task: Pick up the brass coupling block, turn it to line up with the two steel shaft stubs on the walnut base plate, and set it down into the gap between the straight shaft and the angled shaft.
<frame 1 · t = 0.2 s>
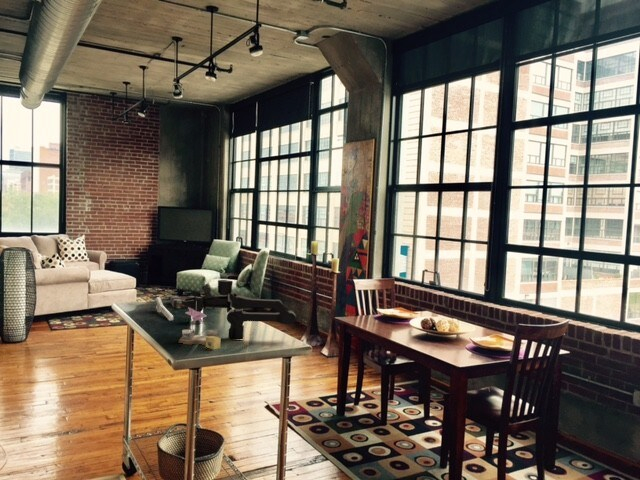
hand: (183, 301, 251), 17 cm above the table, tool horizontal, fingers open, 9 cm apart
coupler: (212, 348, 234), on the table
book: (184, 307, 327), on the table
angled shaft: (187, 341, 243), resting on base plate
base plate: (199, 341, 244), on the table
lily: (194, 323, 282), on the table
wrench: (163, 316, 297), on the table
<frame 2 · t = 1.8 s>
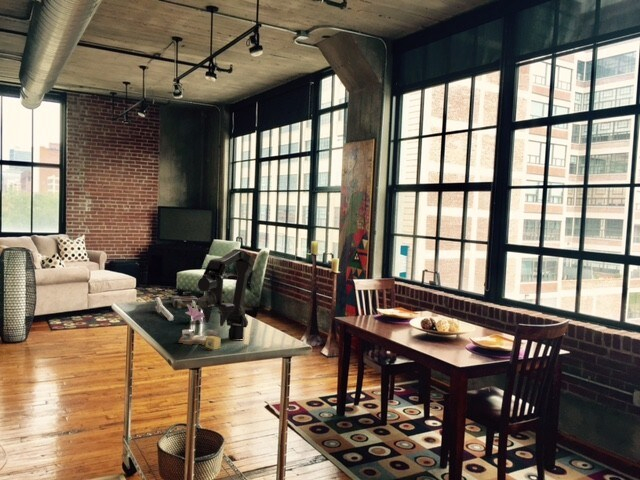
hand: (214, 324, 234), 11 cm above the table, tool pointing down, fingers open, 9 cm apart
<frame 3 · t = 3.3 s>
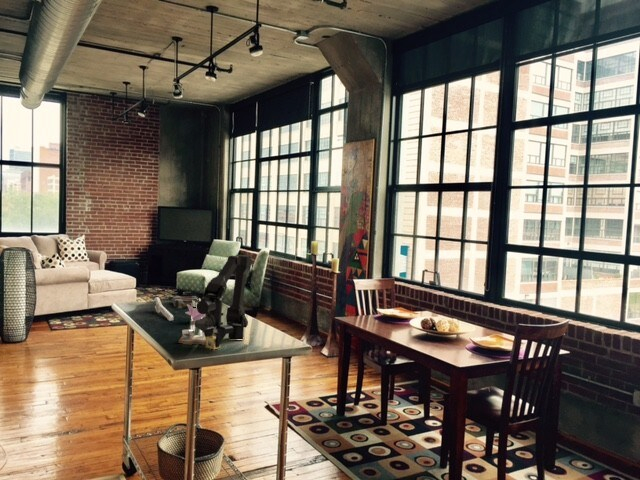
hand: (213, 346, 234), 1 cm above the table, tool pointing down, fingers closed on coupler, 5 cm apart
coupler: (212, 348, 234), on the table, touching gripper
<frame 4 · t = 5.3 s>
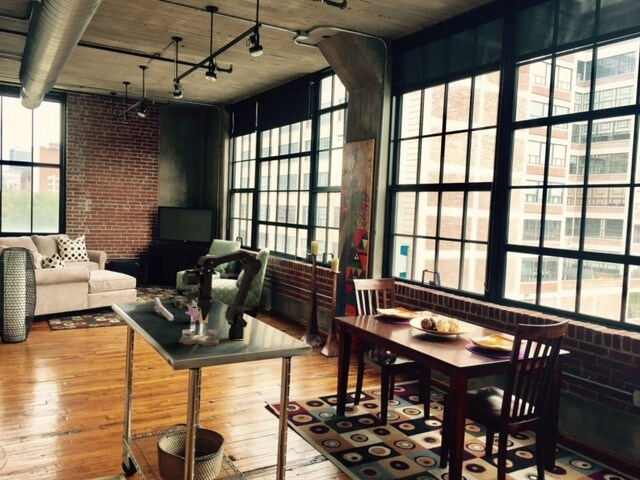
hand: (203, 319, 242), 11 cm above the table, tool pointing down, fingers closed on coupler, 5 cm apart
coupler: (203, 321, 242), point 10 cm above the table, touching gripper
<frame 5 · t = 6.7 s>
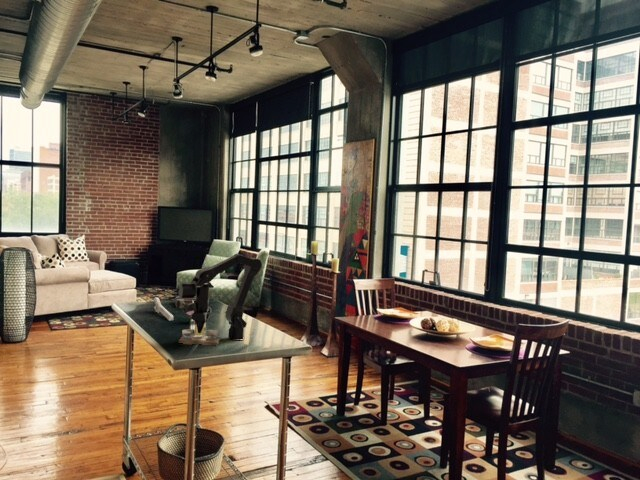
hand: (200, 331, 244), 5 cm above the table, tool pointing down, fingers closed on coupler, 5 cm apart
coupler: (200, 333, 244), point 4 cm above the table, touching gripper
when the fingers open (4 cm above the table, at t = 7.5 s): coupler drops 1 cm, resting on base plate.
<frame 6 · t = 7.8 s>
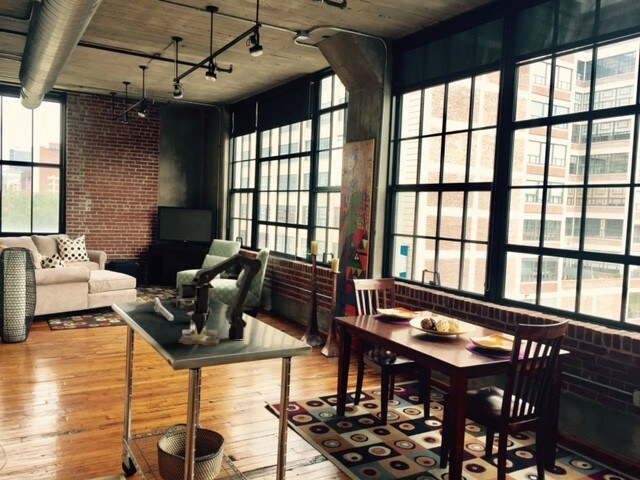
hand: (200, 332, 244), 4 cm above the table, tool pointing down, fingers open, 8 cm apart
coupler: (200, 337, 244), point 2 cm above the table, touching base plate
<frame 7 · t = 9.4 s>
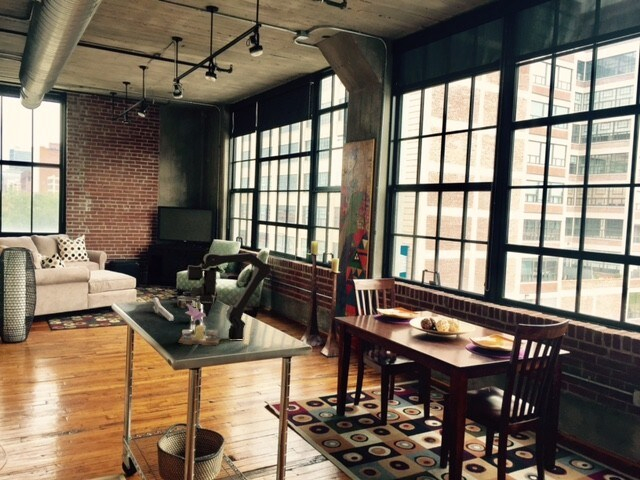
hand: (208, 314, 249), 12 cm above the table, tool pointing down, fingers open, 9 cm apart
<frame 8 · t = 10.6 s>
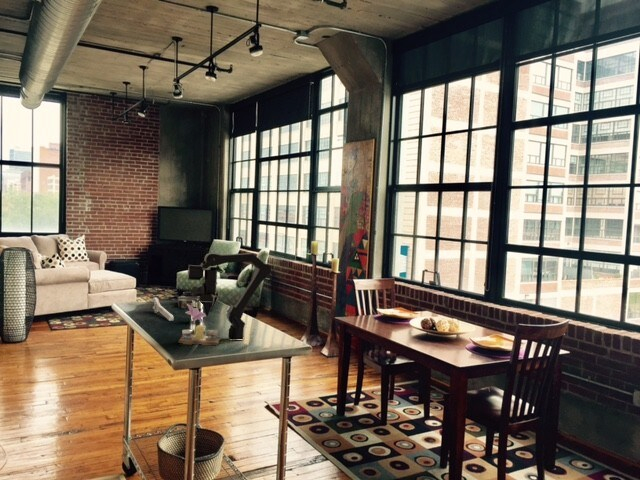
hand: (208, 313, 249), 12 cm above the table, tool pointing down, fingers open, 9 cm apart
at the end: coupler 0.0 cm off-centre on the base plate, point 1.9 cm above the base plate's base; coupler tilted 0°; the gripper is holding nothing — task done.
